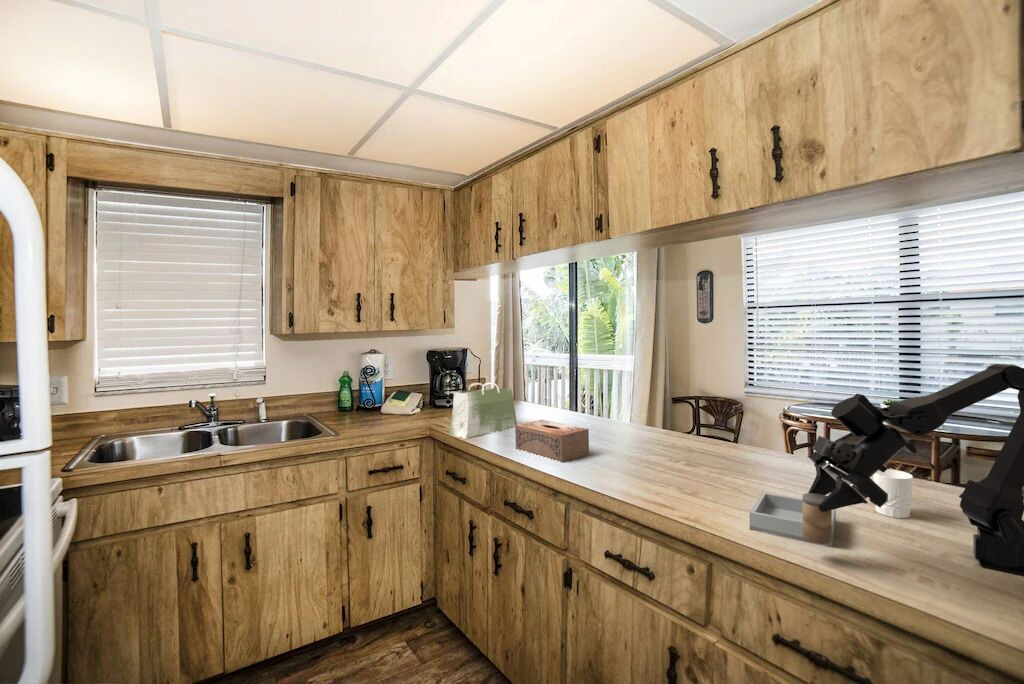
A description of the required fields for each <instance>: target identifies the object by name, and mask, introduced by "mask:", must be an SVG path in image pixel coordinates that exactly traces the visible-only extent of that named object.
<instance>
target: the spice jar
mask: <svg viewBox="0 0 1024 684" xmlns="http://www.w3.org/2000/svg"><path fill="white" fill-rule="evenodd" d="M827 496H828V495H822V494H816V493H808V492H807V493H803V494H802V499H803V537H804V538H805V539H806V540H808V541H811V542H814V543H813V544H816V543H819V544H818V545H820V544H828V543H831V542H832V543H833V541H832V510H829V511H826V512H822V511H821V510H820V509H819V506H820V505H821V503H822V502H823V501H824V500H825V499H826V498H827ZM811 542H810V543H811Z"/></svg>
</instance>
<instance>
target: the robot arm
mask: <svg viewBox="0 0 1024 684" xmlns="http://www.w3.org/2000/svg"><path fill="white" fill-rule="evenodd" d="M1008 389H1012V390H1015V391H1018V392H1017V393H1018V394H1017V400H1018V405H1019V410H1020V411H1019V414H1018V417H1017V418H1016V420H1015V422H1014V424H1013V426H1012V428H1011V430H1010V432H1009V434H1008V435H1007V438H1006V439H1005V441H1004V443H1003V445H1002V448H1001V449H1000V451H999V453H998V455H997V457H996V459H995V461H994V463H993V465H992V466H991V469H990V471H989V472H988V474H987V476H986V477H985V478H983V479H982V480H980V481H978V482H977V481H974V480H972V479H969V480H968V481H967V482H966V484H965V486H964V487H965V488H964V490H963V491H962V493H961V494H959V495H958V498H959V499H960V502H959V507H960V509H961V510H962V512H963V514H964V515H965V517H967V519H968V521H969V524H970V525H972V526H975V527H976V529H977V531H976V532H977V533H976V534H975V533H974V534H973V535H972V538H973V539H972V540H973V541H972V553H973V556H974V558H975V559H976V560H977V562H978V564H979V566H980V567H983V568H986V569H992V570H993V569H994V570H995V571H996V570H997V571H1001V572H1007V573H1011V574H1012V573H1013V574H1015V575H1017V574H1018V575H1022V576H1024V520H1023V517H1024V516H1023V515H1024V496H1023V488H1024V368H1023V367H1021V366H1018V365H1014V364H1006V363H1005V364H1004V363H995V364H992V365H989V366H988V367H986V368H985V369H984V370H982V371H979V372H976V373H975V374H972V375H970V376H969V377H966V378H964V379H962V380H959V381H957V382H955V383H953V384H950V385H949V386H946V387H944V388H942V389H940V390H938V391H935V392H934V393H930V394H927V395H923V396H922V395H921V396H914V397H910V398H905V399H902V400H898V401H896V402H893V403H891V404H889V406H886V407H879V408H877V407H876V406H875V405H874V404H873V403H872V402H870V400H869V398H867V397H866V396H865V395H864V394H862V393H856V394H855V395H853V396H852V397H848V398H846V399H844V400H842V401H839V402H837V404H835V405H834V407H832V409H831V413H830V414H831V416H832V417H833V418H834V419H835V420H836V421H837V422H838V423H840V424H841V425H842V427H844V428H846V429H847V430H848V432H850V433H851V434H852V435H853V436H855V437H862V438H861V439H860V440H859V441H858V442H857V443H854V442H845V441H843V440H841V439H840V440H838V441H837V442H835V441H833V440H830V439H828V438H825V437H823V436H820V435H818V437H817V439H816V441H815V443H814V445H813V447H812V450H813V451H814V452H813V453H812V454H811V455H810V456H809V457H808V459H810V461H812V463H814V467H815V471H816V476H815V478H814V481H813V482H812V485H811V487H810V489H809V490H808V492H807V493H816V494H822V495H825V496H827V498H826V499H825V500H824V501H823V502H822V503H821V505H820V506H819V509H820V510H821V511H822V512H826V511H829V510H833V509H836V510H837V509H841V508H844V507H849V506H853V505H854V506H855V505H860V504H865V505H866V504H868V503H869V502H871V504H873V505H876V506H878V507H882V506H883V505H884V504H885V503H886V502H887V501H888V494H887V493H886V492H885V491H884V490H883V489H882V488H880V487H879V486H878V485H877V484H876V483H875V482H874V481H873V478H871V477H873V475H874V474H875V473H876V472H877V471H878V470H879V471H881V472H883V473H884V472H885V471H886V470H887V469H888V468H887V467H886V466H885V465H886V464H887V463H888V462H889V461H891V459H893V458H894V457H895V456H896V455H897V454H898V453H899V452H901V450H904V451H906V452H909V453H911V454H912V455H913V454H915V455H916V453H917V447H916V439H914V438H912V437H909V436H904V435H903V433H901V432H900V431H903V432H905V433H909V434H912V435H914V436H920V437H921V436H926V435H929V434H931V433H933V432H934V431H936V429H939V428H940V427H942V426H944V424H945V423H946V421H947V420H948V418H949V417H950V416H952V415H953V414H955V413H957V412H959V411H961V410H964V409H967V408H968V407H970V406H973V405H974V404H977V403H980V402H981V401H985V400H986V399H988V398H990V397H992V396H995V395H997V394H999V393H1002V392H1004V391H1006V390H1008ZM884 423H886V424H889V425H890V426H891V427H888V426H886V424H884ZM899 430H900V431H899ZM867 498H868V499H869V502H868V501H867V500H866V499H867Z"/></svg>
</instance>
